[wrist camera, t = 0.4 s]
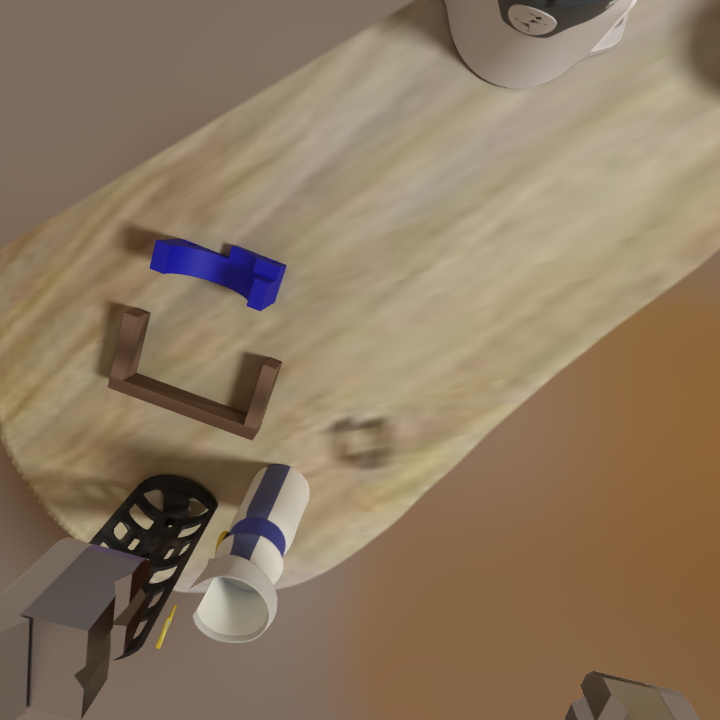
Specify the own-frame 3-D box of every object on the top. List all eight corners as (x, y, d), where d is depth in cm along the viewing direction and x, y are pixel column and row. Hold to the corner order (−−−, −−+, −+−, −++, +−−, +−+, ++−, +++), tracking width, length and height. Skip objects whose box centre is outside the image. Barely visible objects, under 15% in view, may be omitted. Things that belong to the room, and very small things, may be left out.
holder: (220, 480, 59) (135, 617, 41) (221, 526, 62) (143, 674, 43) (137, 469, 60) (16, 599, 41) (142, 515, 62) (32, 656, 44)
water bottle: (249, 519, 61) (156, 707, 37) (246, 461, 58) (143, 622, 34) (311, 522, 60) (256, 716, 36) (310, 464, 58) (251, 629, 34)
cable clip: (286, 265, 51) (273, 269, 46) (274, 302, 53) (260, 311, 47) (186, 225, 51) (159, 225, 45) (176, 264, 52) (149, 268, 47)
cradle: (138, 308, 54) (124, 312, 51) (282, 361, 54) (275, 369, 52) (122, 379, 56) (107, 387, 54) (259, 429, 57) (252, 440, 54)
